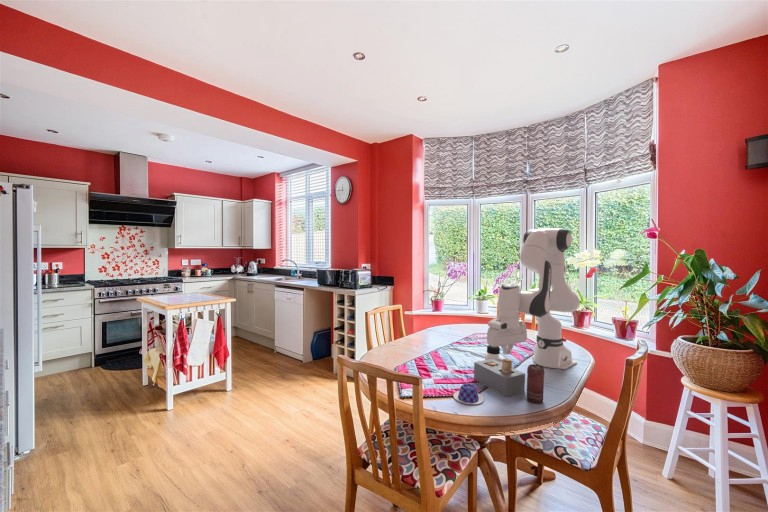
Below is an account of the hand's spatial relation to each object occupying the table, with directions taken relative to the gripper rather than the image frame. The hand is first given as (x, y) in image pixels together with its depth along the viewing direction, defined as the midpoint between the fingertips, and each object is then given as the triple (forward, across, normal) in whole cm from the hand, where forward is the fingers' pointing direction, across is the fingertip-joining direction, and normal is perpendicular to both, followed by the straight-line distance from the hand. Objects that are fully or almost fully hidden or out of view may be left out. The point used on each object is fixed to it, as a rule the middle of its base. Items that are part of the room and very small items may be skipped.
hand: (506, 354), depth 142 cm
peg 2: (+10, 0, 0) cm, 10 cm away
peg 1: (+15, 0, -9) cm, 18 cm away
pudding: (+16, +20, -1) cm, 26 cm away
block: (+16, 0, -5) cm, 16 cm away
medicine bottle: (+16, -12, -19) cm, 27 cm away
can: (+16, -4, +12) cm, 20 cm away
